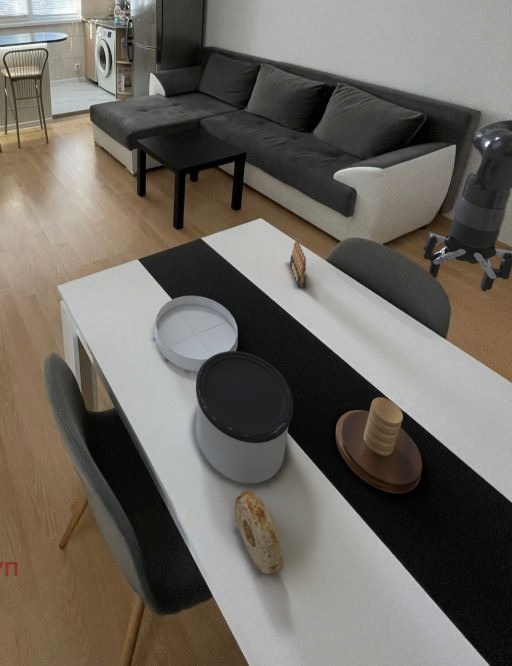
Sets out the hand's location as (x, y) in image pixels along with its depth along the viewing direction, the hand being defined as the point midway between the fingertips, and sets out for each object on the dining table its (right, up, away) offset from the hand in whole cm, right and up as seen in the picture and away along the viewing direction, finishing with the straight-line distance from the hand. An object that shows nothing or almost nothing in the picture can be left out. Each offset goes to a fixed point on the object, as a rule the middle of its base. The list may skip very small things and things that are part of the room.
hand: (458, 282), depth 93 cm
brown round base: (-21, -34, -5) cm, 40 cm away
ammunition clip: (-17, -14, +43) cm, 49 cm away
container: (-48, -34, -1) cm, 59 cm away
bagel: (-51, -41, -18) cm, 67 cm away
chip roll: (-22, -30, -7) cm, 38 cm away
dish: (-53, -24, +24) cm, 63 cm away
